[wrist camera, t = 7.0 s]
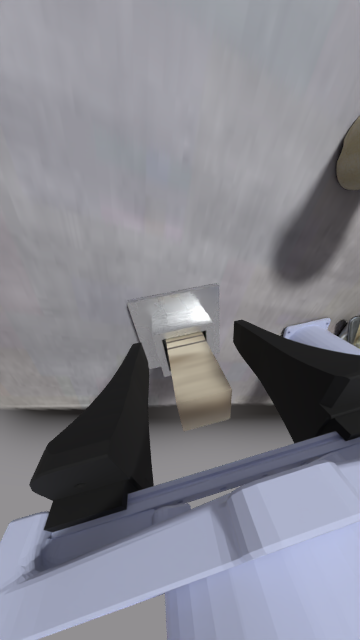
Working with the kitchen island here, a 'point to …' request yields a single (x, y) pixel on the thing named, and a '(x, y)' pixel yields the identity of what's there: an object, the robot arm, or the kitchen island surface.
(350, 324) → the salad plate
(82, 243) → the kitchen island surface
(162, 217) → the kitchen island surface
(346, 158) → the flower pot
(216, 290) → the stand
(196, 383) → the column
